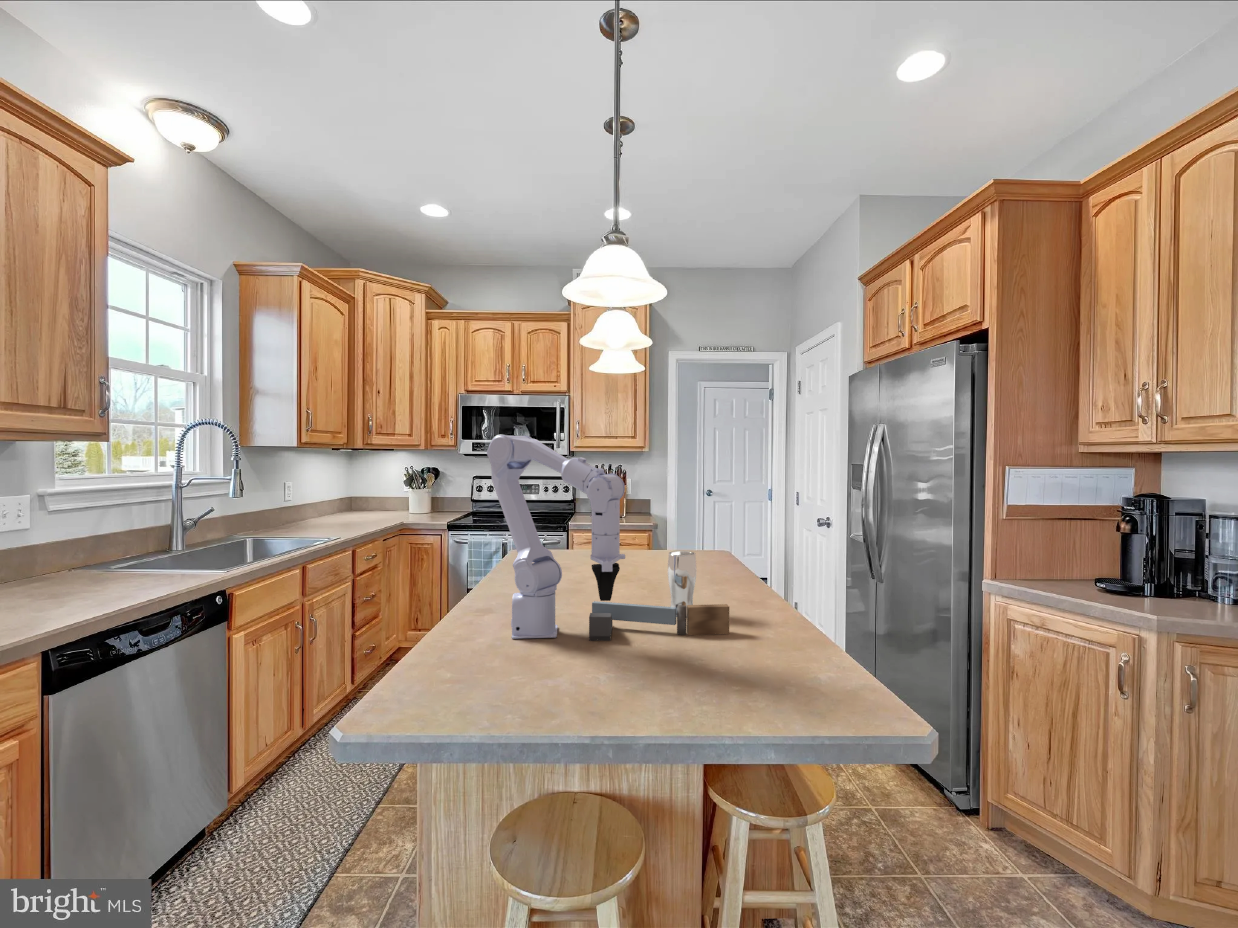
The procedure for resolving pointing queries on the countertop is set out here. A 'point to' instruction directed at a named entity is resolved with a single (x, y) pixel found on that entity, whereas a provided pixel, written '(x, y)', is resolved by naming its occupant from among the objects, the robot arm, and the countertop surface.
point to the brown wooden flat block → (703, 619)
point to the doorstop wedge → (600, 626)
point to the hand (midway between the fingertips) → (605, 599)
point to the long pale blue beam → (637, 612)
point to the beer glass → (681, 577)
